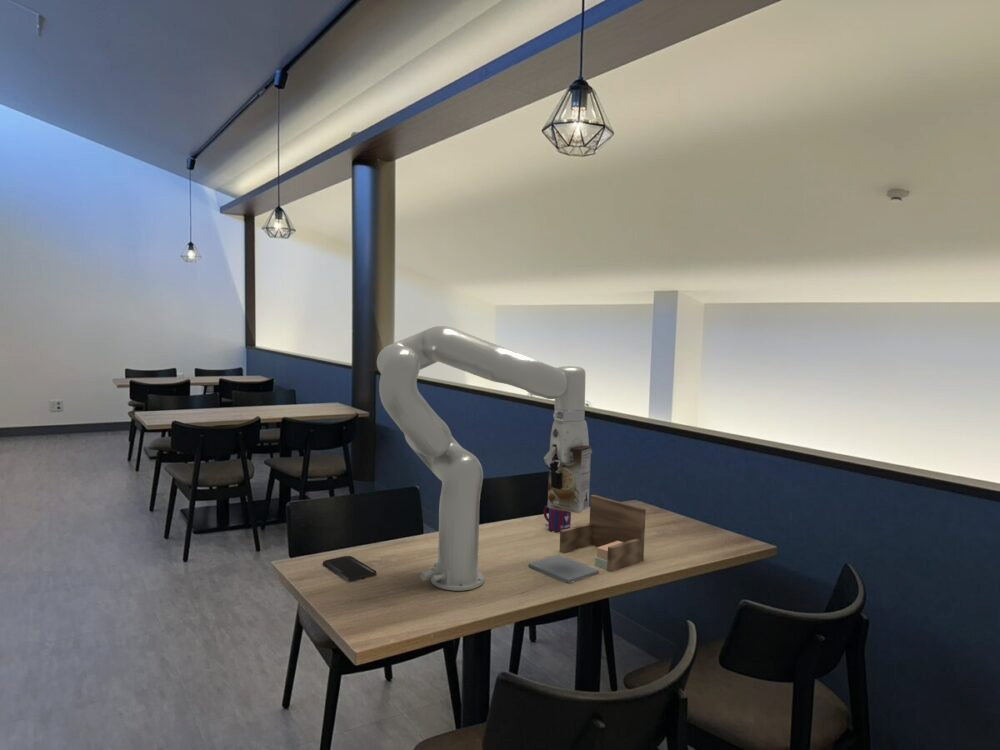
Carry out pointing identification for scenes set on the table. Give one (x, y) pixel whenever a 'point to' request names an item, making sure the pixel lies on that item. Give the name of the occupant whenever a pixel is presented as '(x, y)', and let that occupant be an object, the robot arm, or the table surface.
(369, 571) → the phone
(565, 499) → the coffee box
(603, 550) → the offcut upper
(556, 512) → the mug
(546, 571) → the mat
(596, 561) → the offcut lower
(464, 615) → the table surface
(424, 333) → the robot arm
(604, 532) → the rack
